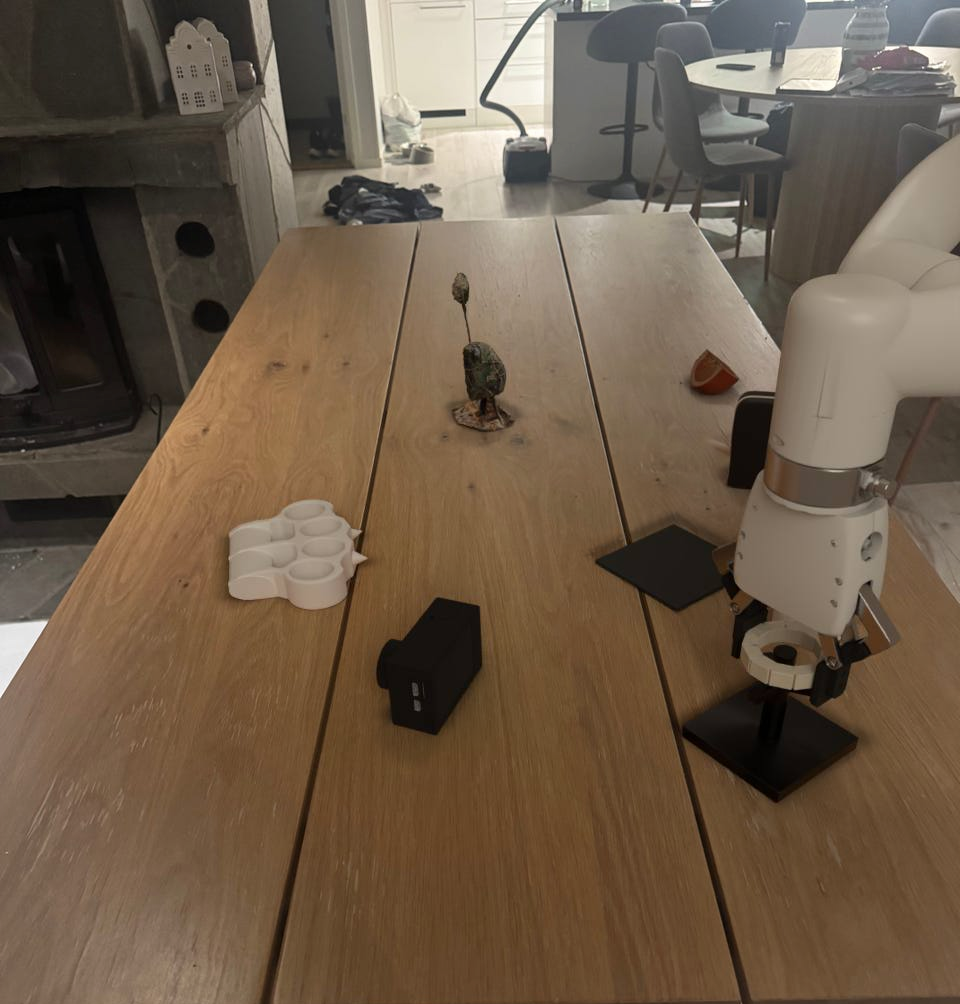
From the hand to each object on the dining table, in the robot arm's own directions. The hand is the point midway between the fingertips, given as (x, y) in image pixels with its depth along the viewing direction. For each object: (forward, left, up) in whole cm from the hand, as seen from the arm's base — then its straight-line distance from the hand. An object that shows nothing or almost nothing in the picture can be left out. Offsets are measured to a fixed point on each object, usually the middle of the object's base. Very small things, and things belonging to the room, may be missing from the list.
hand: (784, 672), depth 75 cm
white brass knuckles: (+17, -50, -7) cm, 54 cm away
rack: (0, 0, -7) cm, 7 cm away
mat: (-14, -24, -7) cm, 29 cm away
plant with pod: (-21, -67, -7) cm, 71 cm away
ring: (0, 0, +1) cm, 1 cm away
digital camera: (+18, -23, -7) cm, 30 cm away
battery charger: (-35, -31, -7) cm, 47 cm away
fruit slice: (-53, -54, -7) cm, 76 cm away
